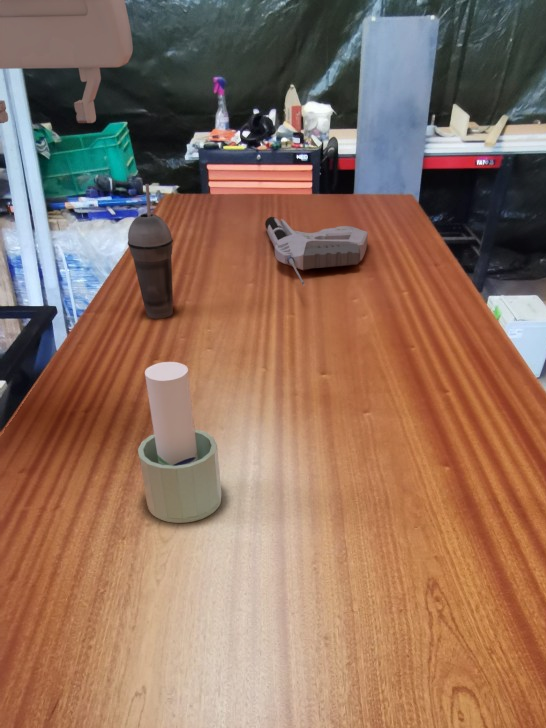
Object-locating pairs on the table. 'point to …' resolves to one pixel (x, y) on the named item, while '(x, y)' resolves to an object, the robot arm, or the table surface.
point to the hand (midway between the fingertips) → (42, 122)
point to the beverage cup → (153, 261)
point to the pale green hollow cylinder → (182, 482)
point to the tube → (171, 413)
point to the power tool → (316, 246)
